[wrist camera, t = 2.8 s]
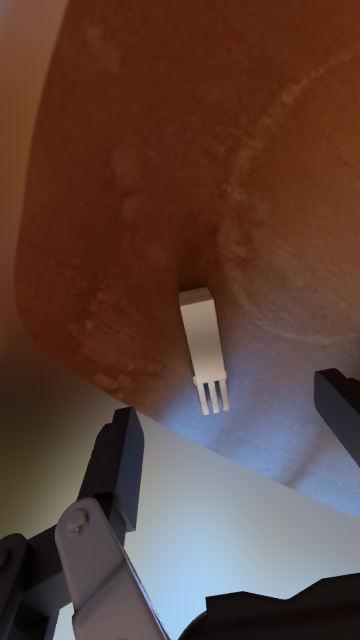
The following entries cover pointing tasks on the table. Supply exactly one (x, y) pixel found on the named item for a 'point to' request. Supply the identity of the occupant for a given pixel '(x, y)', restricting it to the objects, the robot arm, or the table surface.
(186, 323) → the fork
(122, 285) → the table surface
